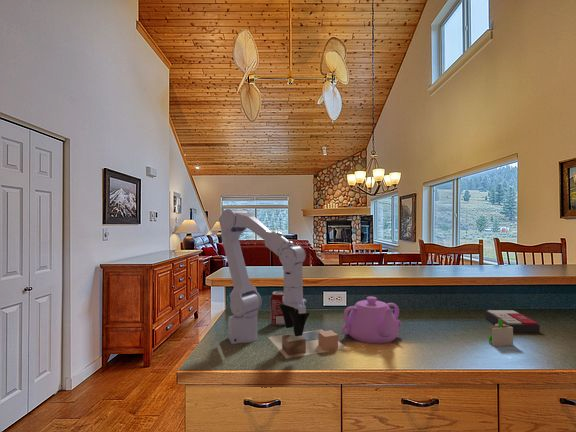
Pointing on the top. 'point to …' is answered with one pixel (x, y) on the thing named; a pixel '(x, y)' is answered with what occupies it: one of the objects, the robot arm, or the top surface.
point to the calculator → (513, 320)
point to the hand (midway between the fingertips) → (293, 331)
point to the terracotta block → (328, 340)
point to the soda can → (277, 308)
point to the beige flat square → (311, 344)
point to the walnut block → (293, 344)
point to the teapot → (372, 321)
